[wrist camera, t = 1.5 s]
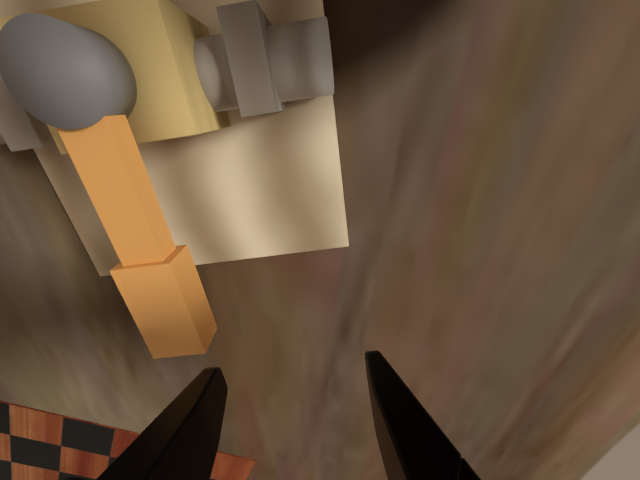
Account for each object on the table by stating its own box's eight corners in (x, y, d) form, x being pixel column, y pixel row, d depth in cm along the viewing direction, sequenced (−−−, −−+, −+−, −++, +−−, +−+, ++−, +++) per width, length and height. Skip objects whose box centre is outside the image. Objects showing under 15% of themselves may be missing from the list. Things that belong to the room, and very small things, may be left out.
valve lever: (114, 20, 10) (76, 3, 8) (222, 327, 16) (211, 352, 14) (28, 35, 10) (-27, 22, 9) (165, 333, 16) (147, 359, 14)
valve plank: (316, -51, 15) (313, -161, 9) (347, 239, 21) (358, 292, 15) (-19, 9, 16) (-233, -50, 10) (111, 268, 22) (32, 329, 16)
